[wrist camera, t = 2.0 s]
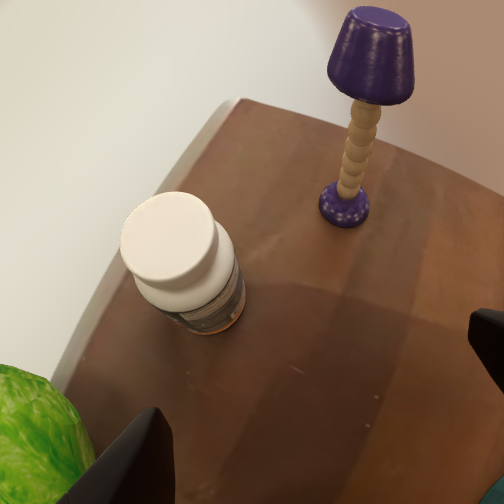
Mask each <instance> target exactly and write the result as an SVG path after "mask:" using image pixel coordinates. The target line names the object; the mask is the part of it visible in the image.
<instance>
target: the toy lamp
mask: <svg viewBox="0 0 504 504" xmlns="http://www.w3.org/2000/svg"><path fill="white" fill-rule="evenodd" d="M327 73H328V77H329V79H330V81H331V82H332V83H333V84H334V86H336V88H337V89H338V90H339V91H340V92H342V93H344V94H346V95H348V96H350V97H351V98H354V99H355V100H354V102H353V104H352V107H351V118H352V119H351V121H350V123H349V126H348V136H349V137H348V138H347V140H346V143H345V153H344V155H343V157H342V168H341V170H340V173H339V178H340V179H339V181H335V182H333V183H331V184H329V185H328V186H327V187H326V188H325V189H324V190H323V192H322V194H321V196H320V199H319V208H320V211H321V213H322V215H323V216H324V217H325V218H326V220H327V221H329V222H330V223H331V224H334V225H336V226H339V227H343V228H351V227H355V226H358V225H359V224H361V223H362V222H364V220H365V219H366V218H367V215H368V213H369V200H368V196H367V194H366V193H365V191H364V190H363V189H362V188H361V187H360V184H361V182H362V180H363V177H364V171H365V169H366V168H367V165H368V157H369V156H370V154H371V151H372V141H373V140H374V138H375V136H376V131H377V128H376V124H377V123H378V121H379V120H380V117H381V106H380V105H382V106H391V105H396V104H401V103H403V102H405V101H406V100H407V99H409V98H410V96H411V95H412V93H413V90H414V83H415V78H414V57H413V41H412V32H411V28H410V25H409V24H408V22H407V21H406V20H405V19H404V18H403V17H401V16H400V15H398V14H396V13H394V12H391V11H389V10H386V9H382V8H378V7H372V6H360V7H356V8H353V9H352V10H351V11H350V12H349V13H348V14H347V16H346V18H345V20H344V23H343V25H342V28H341V30H340V33H339V35H338V38H337V40H336V43H335V46H334V49H333V51H332V54H331V56H330V59H329V62H328V66H327Z"/></svg>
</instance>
